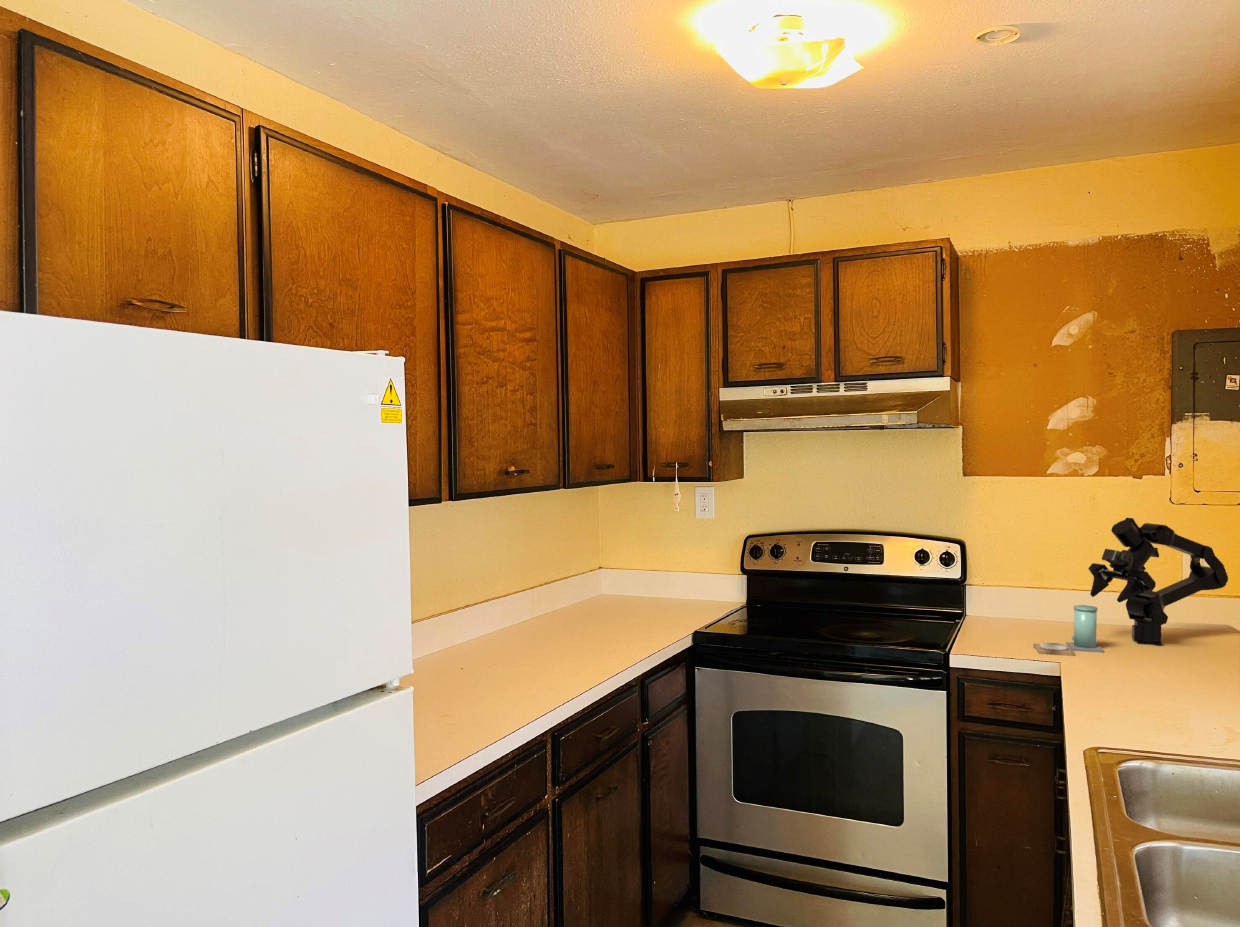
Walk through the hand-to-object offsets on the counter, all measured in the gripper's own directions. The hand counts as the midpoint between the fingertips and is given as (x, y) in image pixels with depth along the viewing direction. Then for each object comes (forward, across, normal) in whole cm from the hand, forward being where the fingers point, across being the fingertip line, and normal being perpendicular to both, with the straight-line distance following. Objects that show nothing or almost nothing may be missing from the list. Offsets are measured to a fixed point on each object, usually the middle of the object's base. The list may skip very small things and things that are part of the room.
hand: (1104, 598), depth 254 cm
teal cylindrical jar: (+14, 0, +4) cm, 15 cm away
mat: (+15, 0, +5) cm, 15 cm away
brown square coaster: (+22, 0, -3) cm, 23 cm away
